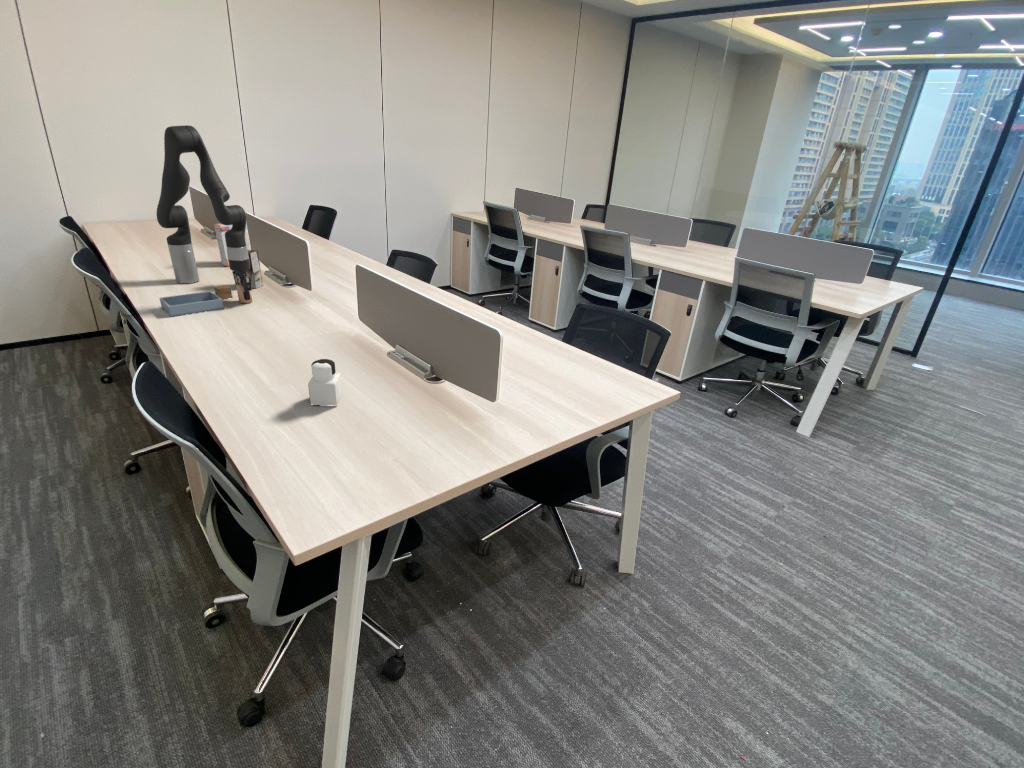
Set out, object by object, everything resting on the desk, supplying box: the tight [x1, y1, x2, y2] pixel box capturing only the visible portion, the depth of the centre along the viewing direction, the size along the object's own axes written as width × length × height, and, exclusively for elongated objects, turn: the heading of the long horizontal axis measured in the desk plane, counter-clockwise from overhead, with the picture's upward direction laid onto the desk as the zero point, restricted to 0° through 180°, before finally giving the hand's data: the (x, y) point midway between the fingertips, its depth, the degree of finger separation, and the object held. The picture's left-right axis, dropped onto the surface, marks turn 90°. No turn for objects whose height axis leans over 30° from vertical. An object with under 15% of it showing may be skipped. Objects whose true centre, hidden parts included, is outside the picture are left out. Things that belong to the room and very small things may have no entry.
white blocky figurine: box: [307, 358, 343, 406], centre depth 141 cm, size 7×7×12 cm
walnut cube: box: [213, 283, 233, 300], centre depth 216 cm, size 5×5×5 cm
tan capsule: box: [235, 283, 253, 304], centre depth 212 cm, size 5×5×7 cm
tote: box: [159, 290, 225, 318], centre depth 202 cm, size 14×19×4 cm
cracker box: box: [213, 222, 252, 268], centre depth 263 cm, size 14×6×21 cm, turn 144°
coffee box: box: [246, 249, 264, 289], centre depth 231 cm, size 9×6×16 cm
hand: (245, 298), depth 213 cm, fingers closed on tan capsule, 5 cm apart
